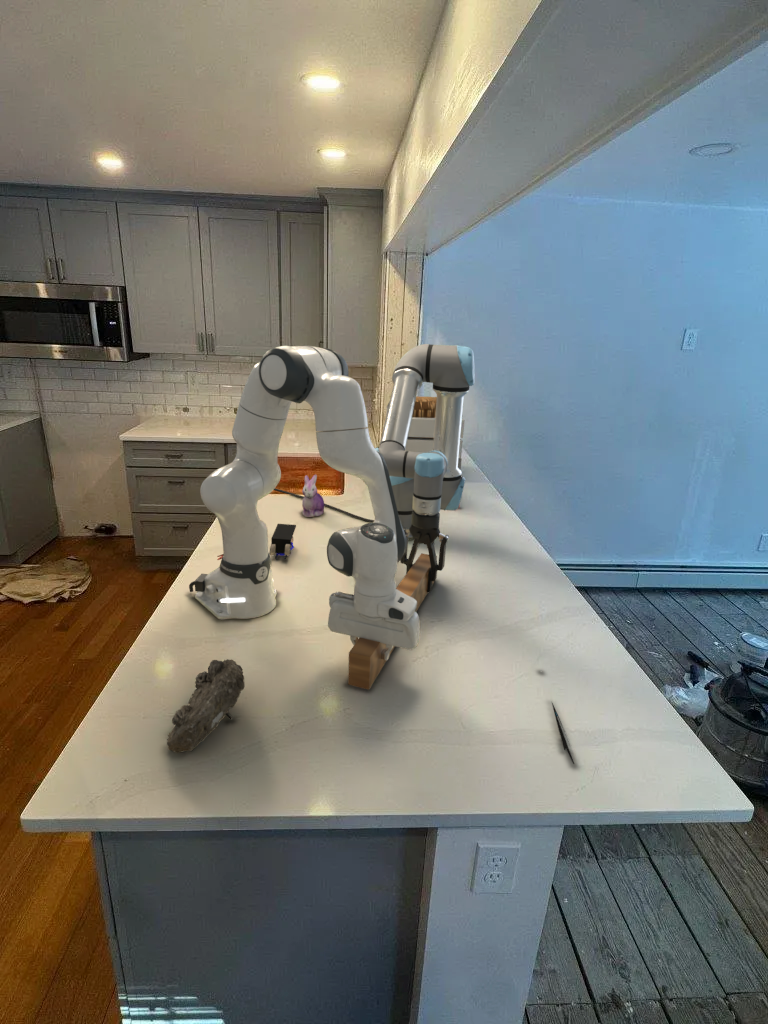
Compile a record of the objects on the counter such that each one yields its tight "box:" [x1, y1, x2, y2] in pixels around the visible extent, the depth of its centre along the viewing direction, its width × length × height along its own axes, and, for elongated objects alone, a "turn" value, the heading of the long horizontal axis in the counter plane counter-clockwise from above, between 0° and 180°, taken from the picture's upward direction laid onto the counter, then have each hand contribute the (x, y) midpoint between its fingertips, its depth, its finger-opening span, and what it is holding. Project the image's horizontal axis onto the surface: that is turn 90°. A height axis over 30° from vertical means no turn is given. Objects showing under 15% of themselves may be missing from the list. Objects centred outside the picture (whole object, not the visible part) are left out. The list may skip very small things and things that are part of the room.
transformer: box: [385, 396, 465, 471], centre depth 268 cm, size 34×33×41 cm
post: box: [347, 552, 438, 691], centre depth 142 cm, size 55×5×8 cm, turn 161°
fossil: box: [166, 658, 245, 754], centre depth 106 cm, size 22×10×15 cm
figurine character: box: [269, 523, 297, 560], centre depth 179 cm, size 7×8×15 cm
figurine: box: [301, 474, 325, 518], centre depth 213 cm, size 9×10×15 cm
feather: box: [540, 670, 575, 765], centre depth 113 cm, size 2×28×2 cm
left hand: (372, 655), depth 124 cm, fingers closed on post, 5 cm apart
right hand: (420, 588), depth 160 cm, fingers closed on post, 5 cm apart
